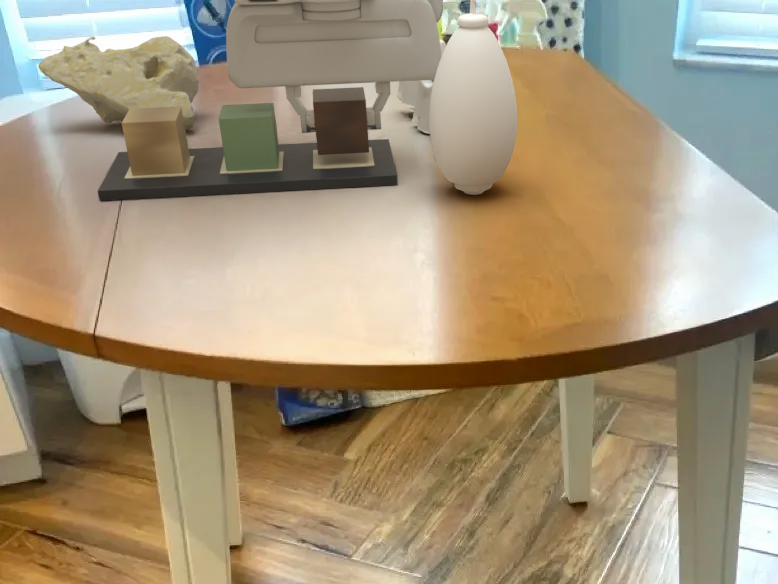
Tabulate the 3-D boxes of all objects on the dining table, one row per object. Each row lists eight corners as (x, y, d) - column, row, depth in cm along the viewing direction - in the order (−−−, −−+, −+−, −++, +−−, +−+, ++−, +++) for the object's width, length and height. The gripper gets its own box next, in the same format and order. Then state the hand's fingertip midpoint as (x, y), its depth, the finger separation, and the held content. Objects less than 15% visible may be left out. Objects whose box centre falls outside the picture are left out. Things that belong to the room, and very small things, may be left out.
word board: (99, 201, 90) (97, 189, 89) (120, 161, 100) (118, 151, 99) (397, 185, 93) (397, 173, 92) (389, 148, 102) (388, 137, 102)
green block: (226, 171, 93) (218, 118, 90) (229, 155, 97) (222, 104, 95) (278, 168, 94) (271, 116, 91) (279, 153, 98) (273, 102, 95)
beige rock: (233, 134, 114) (164, 36, 116) (228, 99, 107) (154, -5, 109) (119, 195, 111) (49, 94, 112) (106, 164, 104) (31, 55, 105)
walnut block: (318, 155, 94) (312, 102, 91) (317, 140, 98) (312, 89, 95) (369, 152, 94) (365, 99, 91) (366, 137, 98) (363, 87, 95)
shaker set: (396, 111, 114) (391, 10, 108) (430, 108, 116) (427, 7, 109) (424, 139, 105) (420, 30, 99) (460, 135, 106) (459, 27, 100)
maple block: (132, 175, 92) (121, 122, 90) (139, 159, 97) (129, 108, 94) (185, 172, 93) (175, 120, 90) (190, 157, 97) (181, 106, 94)
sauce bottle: (530, 187, 92) (536, -22, 82) (485, 211, 86) (486, -8, 76) (462, 173, 95) (460, -28, 85) (416, 195, 90) (407, -16, 80)
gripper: (438, -34, 91) (441, 116, 99) (218, -27, 89) (240, 125, 96) (446, -24, 86) (449, 133, 93) (212, -17, 83) (236, 144, 91)
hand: (341, 129), depth 95 cm, fingers closed on walnut block, 5 cm apart
